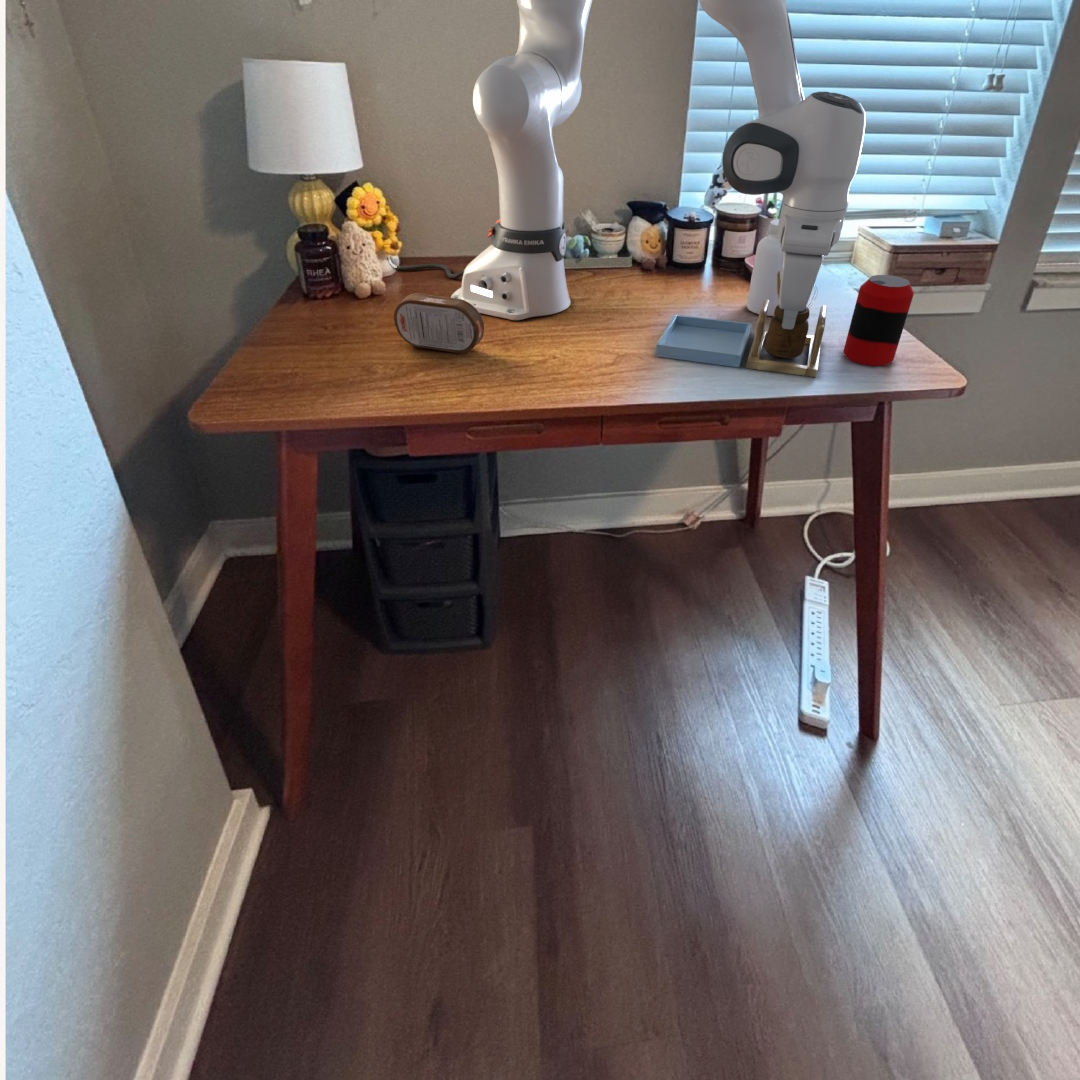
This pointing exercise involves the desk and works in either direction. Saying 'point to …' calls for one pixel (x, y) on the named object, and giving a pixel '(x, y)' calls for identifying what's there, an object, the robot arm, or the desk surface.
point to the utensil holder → (787, 332)
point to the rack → (782, 367)
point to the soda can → (878, 320)
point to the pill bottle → (766, 272)
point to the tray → (704, 340)
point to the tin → (439, 323)
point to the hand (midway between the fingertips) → (789, 320)
